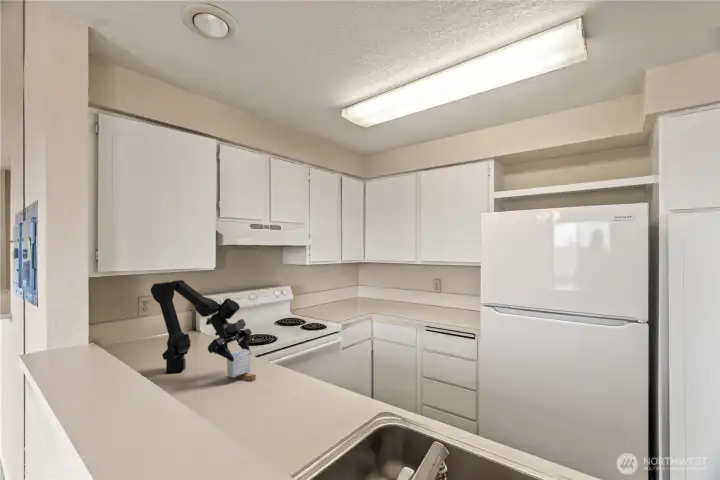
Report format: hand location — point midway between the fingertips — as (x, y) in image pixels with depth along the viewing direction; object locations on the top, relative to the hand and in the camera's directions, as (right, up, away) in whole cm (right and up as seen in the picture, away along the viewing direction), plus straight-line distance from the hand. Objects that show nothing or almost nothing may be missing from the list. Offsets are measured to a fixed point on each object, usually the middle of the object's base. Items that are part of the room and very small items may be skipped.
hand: (241, 357), depth 133 cm
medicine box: (-1, -7, +1) cm, 7 cm away
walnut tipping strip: (0, -10, +2) cm, 10 cm away
